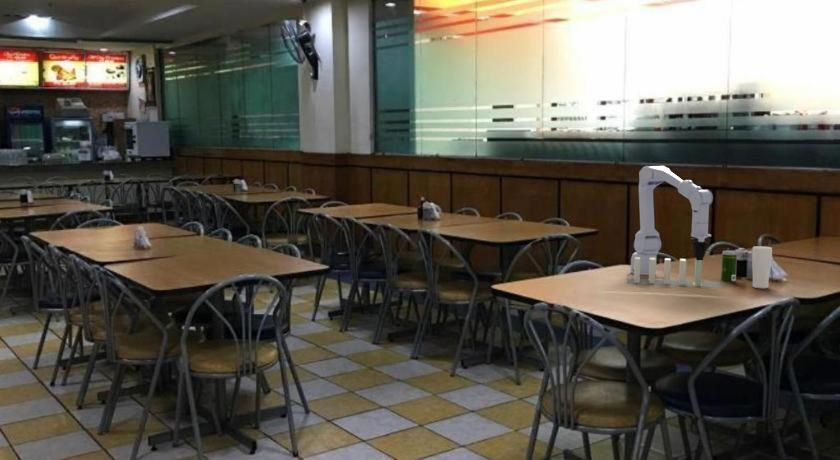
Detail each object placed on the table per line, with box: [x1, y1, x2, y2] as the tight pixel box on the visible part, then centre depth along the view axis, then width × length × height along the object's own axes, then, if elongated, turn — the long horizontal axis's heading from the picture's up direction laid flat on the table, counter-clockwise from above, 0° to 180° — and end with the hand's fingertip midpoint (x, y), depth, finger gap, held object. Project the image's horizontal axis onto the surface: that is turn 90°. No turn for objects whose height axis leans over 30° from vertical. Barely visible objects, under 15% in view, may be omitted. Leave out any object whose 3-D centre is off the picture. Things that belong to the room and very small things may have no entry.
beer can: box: [720, 249, 738, 283], centre depth 312 cm, size 5×5×12 cm
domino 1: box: [633, 257, 641, 283], centre depth 309 cm, size 2×5×9 cm, turn 166°
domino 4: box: [678, 258, 687, 285], centre depth 306 cm, size 2×5×9 cm, turn 167°
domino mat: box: [626, 278, 723, 289], centre depth 307 cm, size 34×11×1 cm, turn 77°
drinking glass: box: [751, 245, 773, 289], centre depth 302 cm, size 7×7×15 cm
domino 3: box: [663, 257, 672, 284], centre depth 307 cm, size 2×5×9 cm, turn 167°
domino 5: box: [693, 258, 703, 285], centre depth 304 cm, size 2×5×9 cm, turn 167°
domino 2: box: [648, 258, 657, 283], centre depth 308 cm, size 2×5×9 cm, turn 167°
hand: (698, 258), depth 304 cm, fingers open, 7 cm apart
